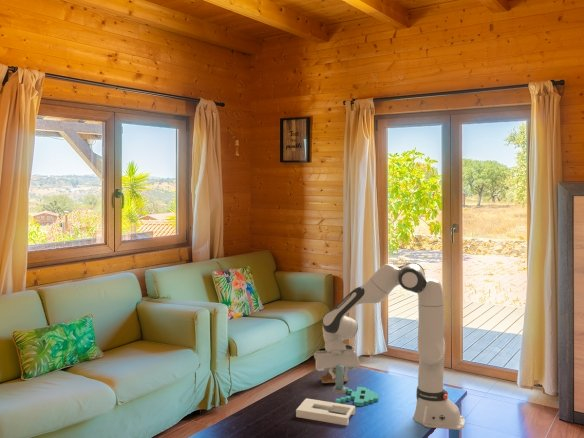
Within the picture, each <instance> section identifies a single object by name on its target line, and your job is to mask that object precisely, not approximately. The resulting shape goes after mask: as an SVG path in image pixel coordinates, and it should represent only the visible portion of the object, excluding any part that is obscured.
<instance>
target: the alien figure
mask: <svg viewBox="0 0 584 438" xmlns="http://www.w3.org/2000/svg"><path fill="white" fill-rule="evenodd" d="M343 387H345V388H346V393H347V395H346V396H345V397H344V396H340V398H335V403H339V404H345V403H346V402H351V401H352V400H353V406H355V407H356V406H357V407H364V406H365V405H366V406H367V405H368V406H369V404H374V403H379V397H380V395H379V393H377V392H375V391H374V390H371V388H370V389H369V388H367V387H364V386H357V387H356V391H354V390H353V389H351V388H349V387H347V386H345V385H344V384H343Z"/></svg>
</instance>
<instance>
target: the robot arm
mask: <svg viewBox="0 0 584 438" xmlns="http://www.w3.org/2000/svg"><path fill="white" fill-rule="evenodd" d="M425 273H426V271H425V270H424V268H423V266H421V265H420V264H419V263H416V262H409V263H405V264H402V265H401V266H399V267H397V266H396V265H393V264H390V263H385V264H383V265H382V266H380V268H378V269H377V270H376V271H375V272H374V274H372V276H371V277H370V278H369V279H368V280H367V281H366V282H365V283H363V284H362V285H360V286H358V287H356V288H354V289H352V291H350V292H349V293H348V294H347V295H346V296H345V297H343V299H342V300H341V301H339V303H338V304H336V306H334V307H333V308H331V309H330V310H329V311H327V312H326V313H325V314H324V315H323V317H322V321H321V322H322V336H323V337H322V338H323V340H324V348H325V350H316V351H315V352H314V353H313V357H314V360H315V369H316V370H317V371H318V372H321V371H322V372H325V371H327V370H329V373H330V374H331V375H332V378H333V379H336V374H334V373H333V372H332V371H333V370H336V365H343V366H344V378H348V372H349V370H357V369H359V367H360V365H361V364H360V359H359V356H358V354H357V352H356V351H355V345H351V344H346V343H344V341H345V340H349V339H351V338H354V337H355V336H356V334H357V333H358V329H359V325H358V322H357V320H356V319H355V318H352V317H350V316H347V314H348V313H349V312H351V311H352V310H353V309H354V308H355V307H356V306H358V305H361V304H380V303H381V302H383V301H384V300H385V299H386V298H387V297H388V296H389V294H391V292H392V291H393V290H394V288H396V287H397V286H401V287H402V288H403V289H404V290H406V291H409V292H411V293H412V292H413V293H415V294H417V298H418V299H417V300H418V303H417V304H418V309H417V310H418V311H417V312H418V325H417V327H418V328H417V353H418V354H417V355H418V357H419V363H418V372H417V373H418V375H417V379H418V380H417V387H416V397H415V398H416V406H415V410H414V413H413V419H414V421H416V422H417V423H419V424H421V425H423V427H425V428H431V429H442V430H443V429H444V430H445V429H446V430H455V431H457V430H458V431H461V430H462V429H464V428H465V425H466V419H465V417H464V416H463V415H461V413H460V408H459V407H458V405H456V404H455V403H454V402H453V401H452V400H451V399H449V396H448V392H449V391H448V390H447V389H446V390H445V389H444V374H445V373H444V371H445V356H446V340H445V338H444V334H445V333H444V332H445V331H444V328H445V327H444V326H445V309H444V308H445V307H444V305H445V304H444V303H445V302H444V301H445V300H444V292H443V287H442V284H441V283H440V281H438V280H437V279H434V278H427V277H426V275H425Z"/></svg>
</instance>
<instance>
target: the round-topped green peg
mask: <svg viewBox="0 0 584 438" xmlns="http://www.w3.org/2000/svg"><path fill="white" fill-rule="evenodd" d="M344 373H345V371H344V366H343V365H336V383H335V385H334V386H333V387H332V392H333V394H336V395H345V394H346V393H347V392H346V388H345V387H346V386H345V387H343V385H344Z"/></svg>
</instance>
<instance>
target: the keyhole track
mask: <svg viewBox="0 0 584 438" xmlns="http://www.w3.org/2000/svg"><path fill="white" fill-rule="evenodd" d="M355 413H356V406H355V405H350V404H345V403H340V404H339V403H336V402H331V401H325V400H319V399H312V398H307V397H306V398H305V399H304V400H303V401H302V402H301V403H300V405H299V406H298V407H297V408H296V409H295V417H296V418H302V419H307V420H311V421H318V422H324V423H330V424H335V425H340V426H341V425H342V426H348V425H349V422H350V420H349V419H350V417H351V416H354V415H356V414H355Z"/></svg>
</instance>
